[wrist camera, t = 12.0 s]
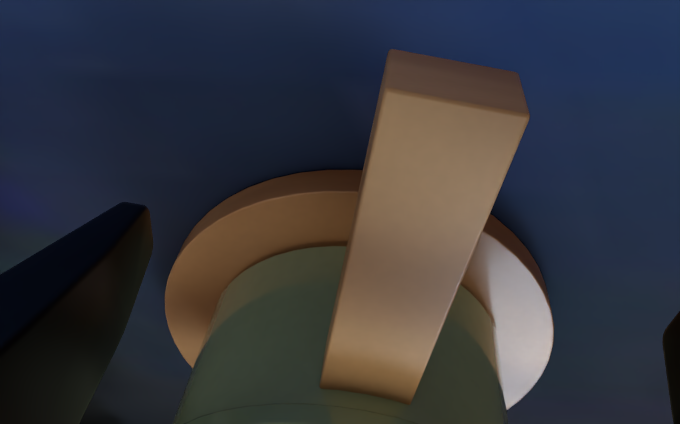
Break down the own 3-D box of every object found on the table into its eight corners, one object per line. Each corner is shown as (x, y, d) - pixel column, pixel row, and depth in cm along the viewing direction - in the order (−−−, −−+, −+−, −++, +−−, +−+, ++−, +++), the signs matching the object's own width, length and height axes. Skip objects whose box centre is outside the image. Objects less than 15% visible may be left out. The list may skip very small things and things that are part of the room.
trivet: (484, 442, 28) (486, 466, 27) (184, 390, 28) (175, 412, 27) (617, 211, 19) (627, 236, 18) (160, 134, 19) (146, 154, 18)
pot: (457, 449, 26) (467, 660, 20) (205, 403, 26) (140, 601, 20) (693, 34, 13) (912, 276, 7) (200, -59, 13) (16, 110, 7)
